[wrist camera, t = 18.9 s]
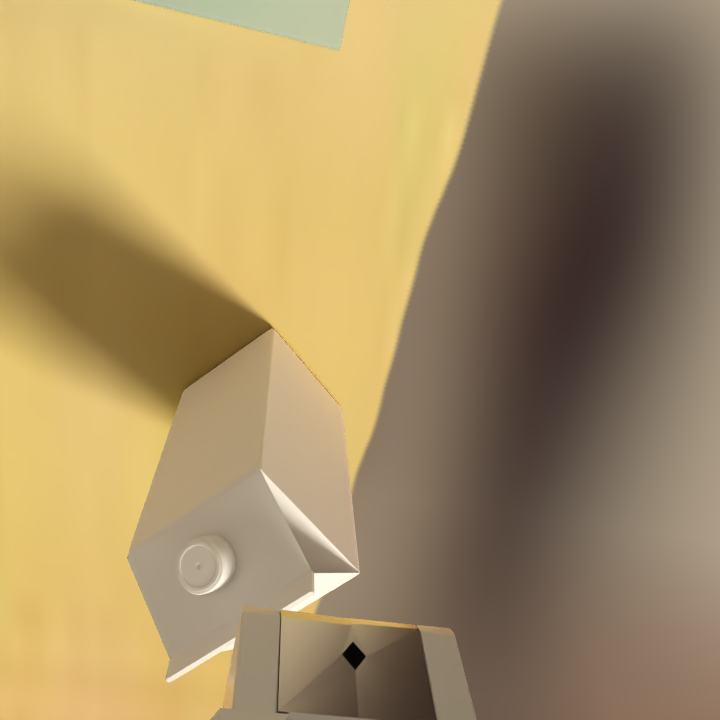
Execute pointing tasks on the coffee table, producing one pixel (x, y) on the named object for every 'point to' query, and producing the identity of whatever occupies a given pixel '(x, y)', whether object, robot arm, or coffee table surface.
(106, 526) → the coffee table surface
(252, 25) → the runner mat
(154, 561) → the milk carton
